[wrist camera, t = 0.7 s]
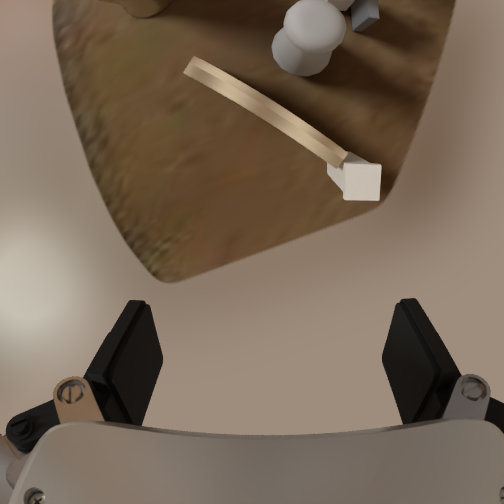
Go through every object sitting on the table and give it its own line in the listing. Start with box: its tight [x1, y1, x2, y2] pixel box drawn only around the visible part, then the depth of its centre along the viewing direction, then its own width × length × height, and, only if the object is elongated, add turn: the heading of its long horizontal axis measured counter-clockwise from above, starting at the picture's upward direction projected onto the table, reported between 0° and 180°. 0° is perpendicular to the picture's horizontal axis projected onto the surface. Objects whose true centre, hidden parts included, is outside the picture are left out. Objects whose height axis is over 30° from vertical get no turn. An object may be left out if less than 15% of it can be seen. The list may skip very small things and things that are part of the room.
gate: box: [183, 56, 348, 169], centre depth 27 cm, size 15×2×7 cm, turn 57°
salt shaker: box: [271, 0, 346, 76], centre depth 22 cm, size 6×6×13 cm
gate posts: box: [325, 0, 381, 201], centre depth 25 cm, size 22×4×10 cm, turn 2°
